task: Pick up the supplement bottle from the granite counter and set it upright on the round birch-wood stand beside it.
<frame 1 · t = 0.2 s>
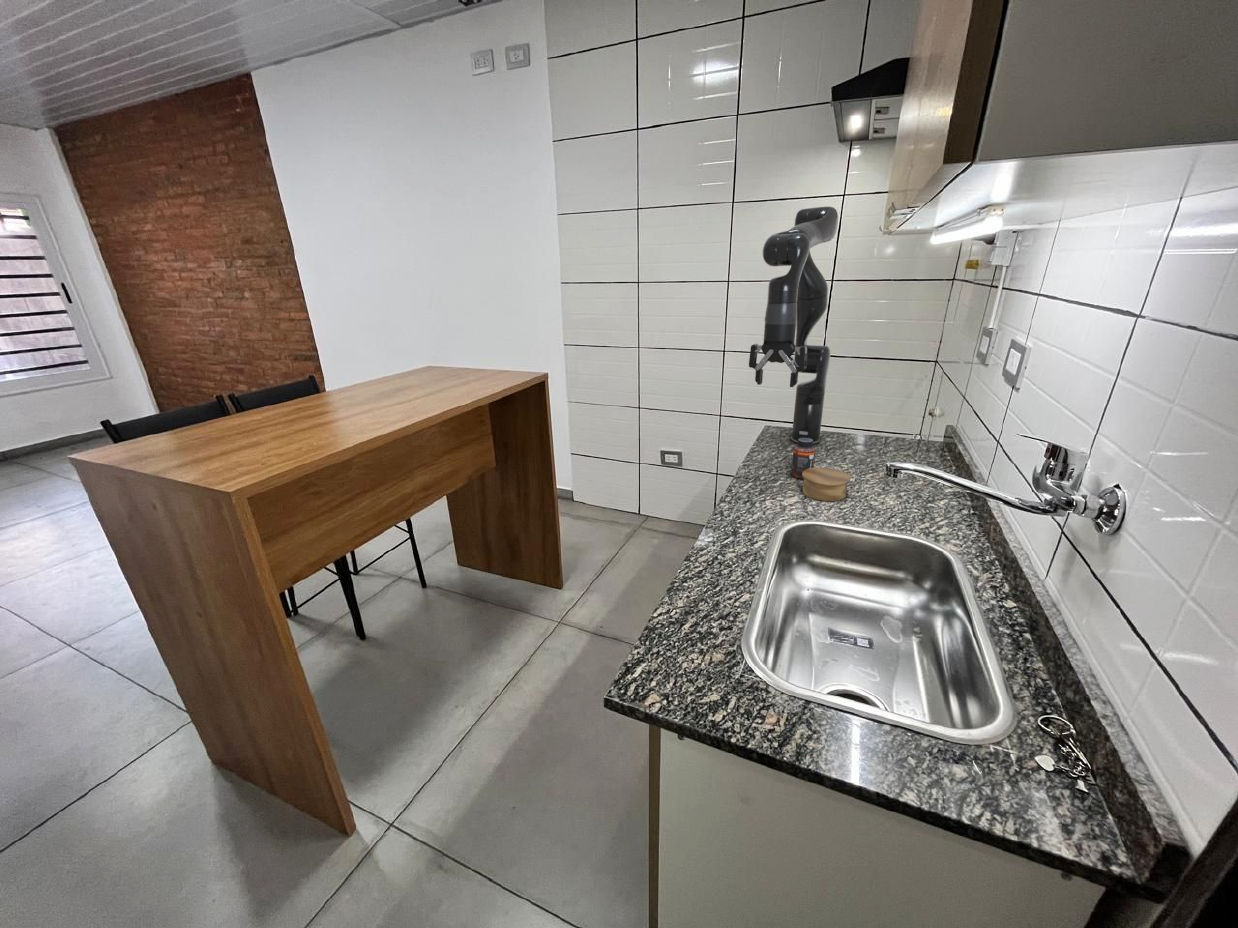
hand: (775, 385, 127), 29 cm above the table, tool pointing down, fingers open, 8 cm apart
stand: (823, 492, 132), on the table
supplement bottle: (801, 476, 143), on the table
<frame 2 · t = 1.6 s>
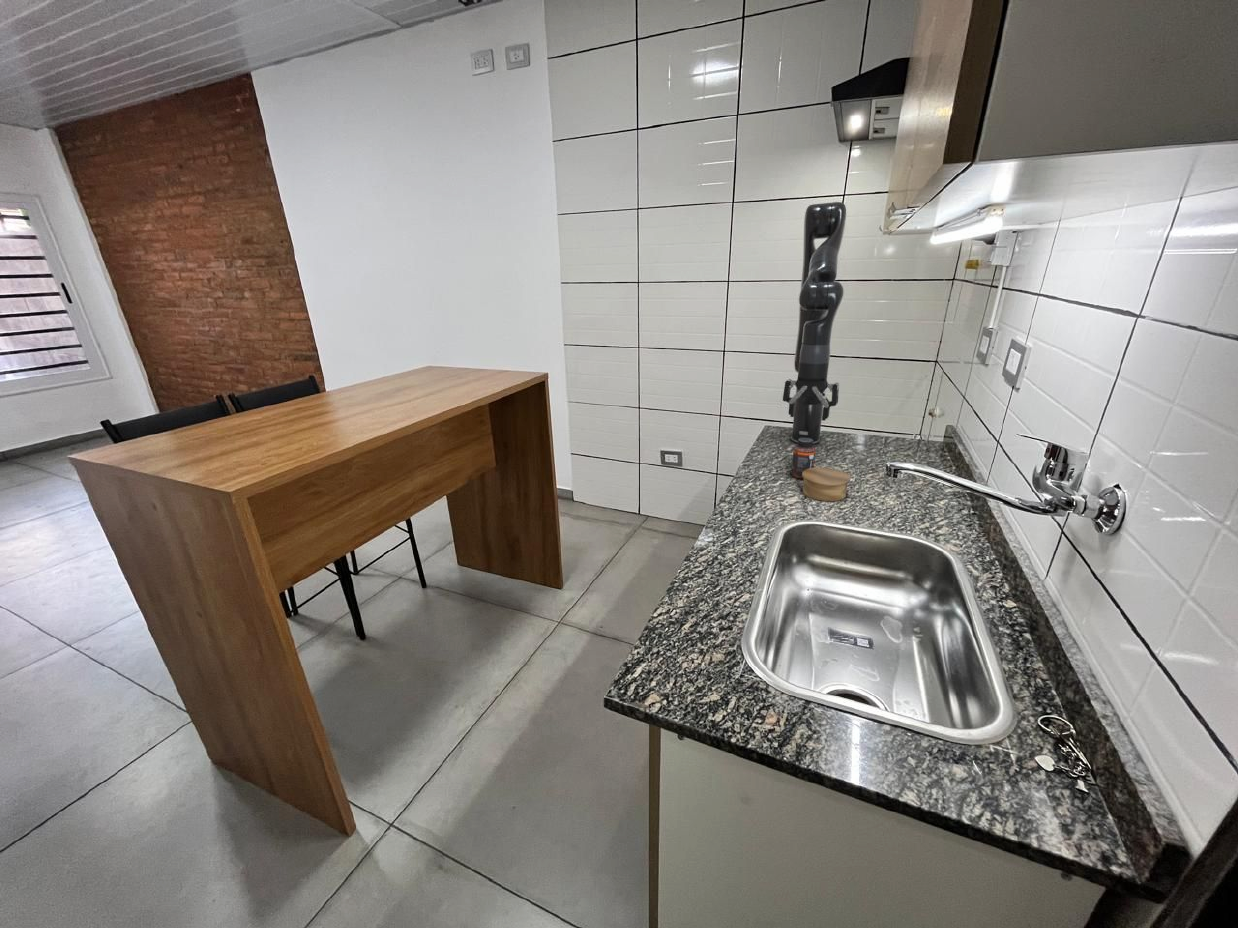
hand: (807, 418, 137), 18 cm above the table, tool pointing down, fingers open, 8 cm apart
nothing on the table moved.
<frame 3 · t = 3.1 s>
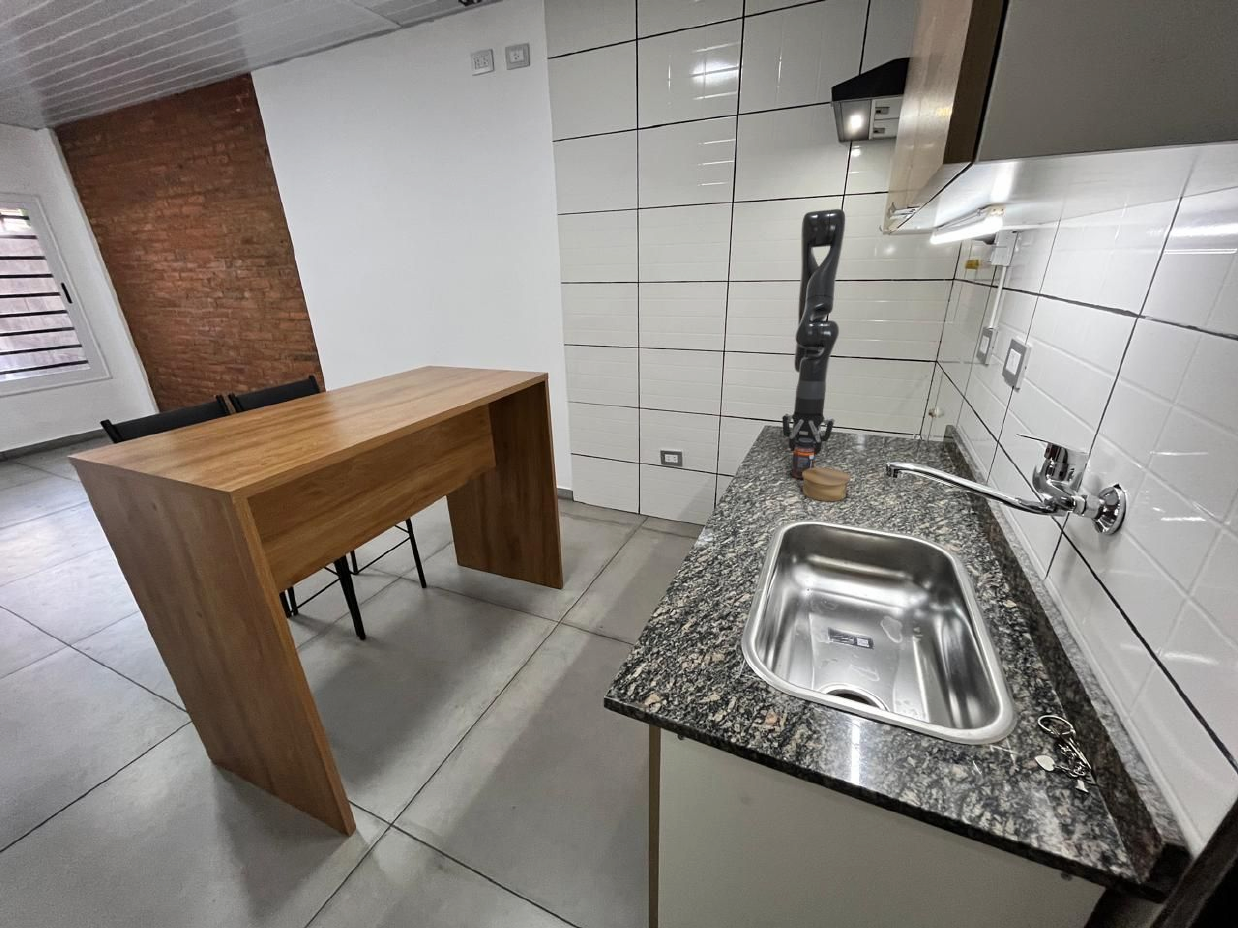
hand: (804, 451, 140), 8 cm above the table, tool pointing down, fingers closed on supplement bottle, 6 cm apart
supplement bottle: (801, 476, 143), on the table, touching gripper
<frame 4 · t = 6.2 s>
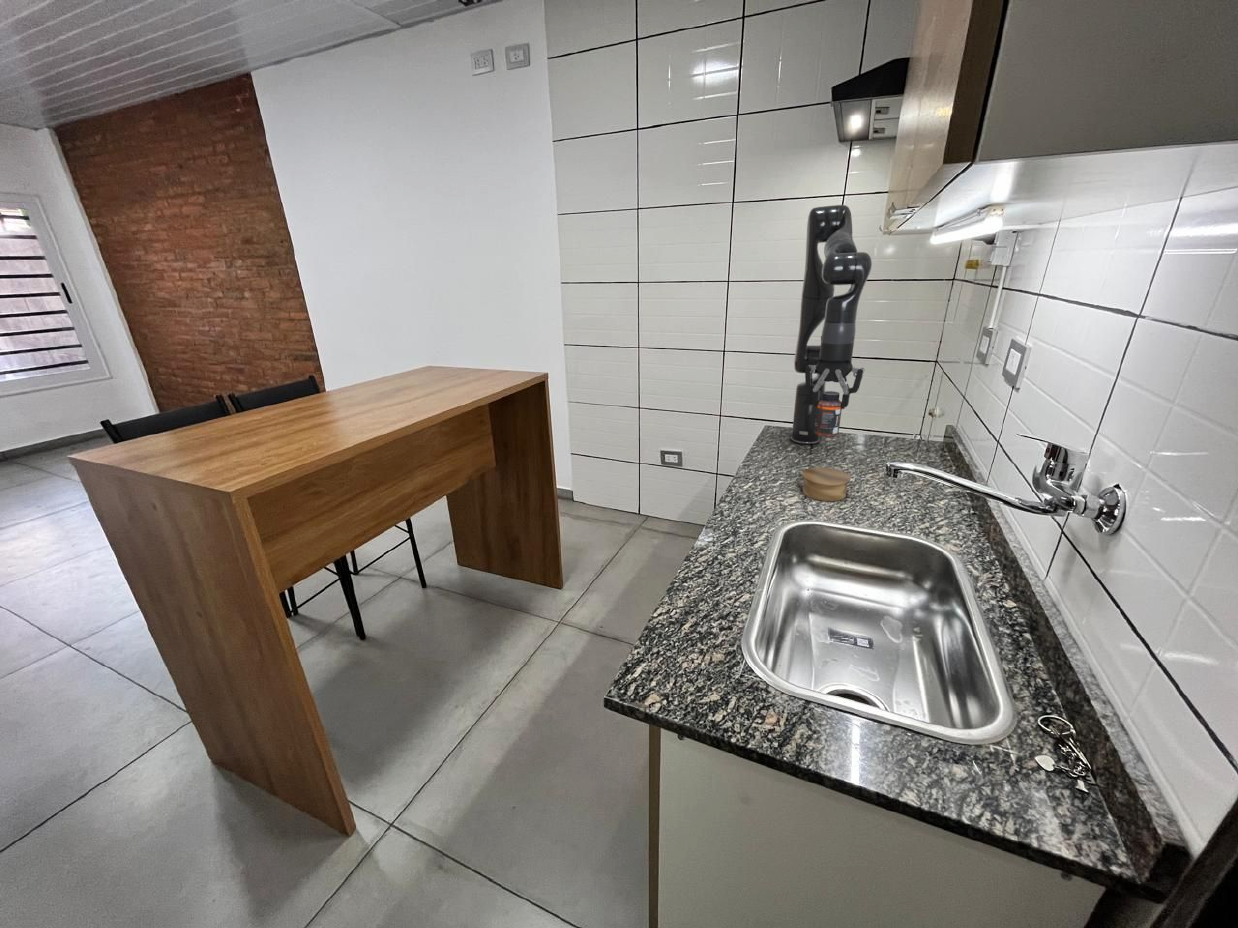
hand: (829, 406, 125), 24 cm above the table, tool pointing down, fingers closed on supplement bottle, 6 cm apart
supplement bottle: (825, 435, 128), point 16 cm above the table, touching gripper
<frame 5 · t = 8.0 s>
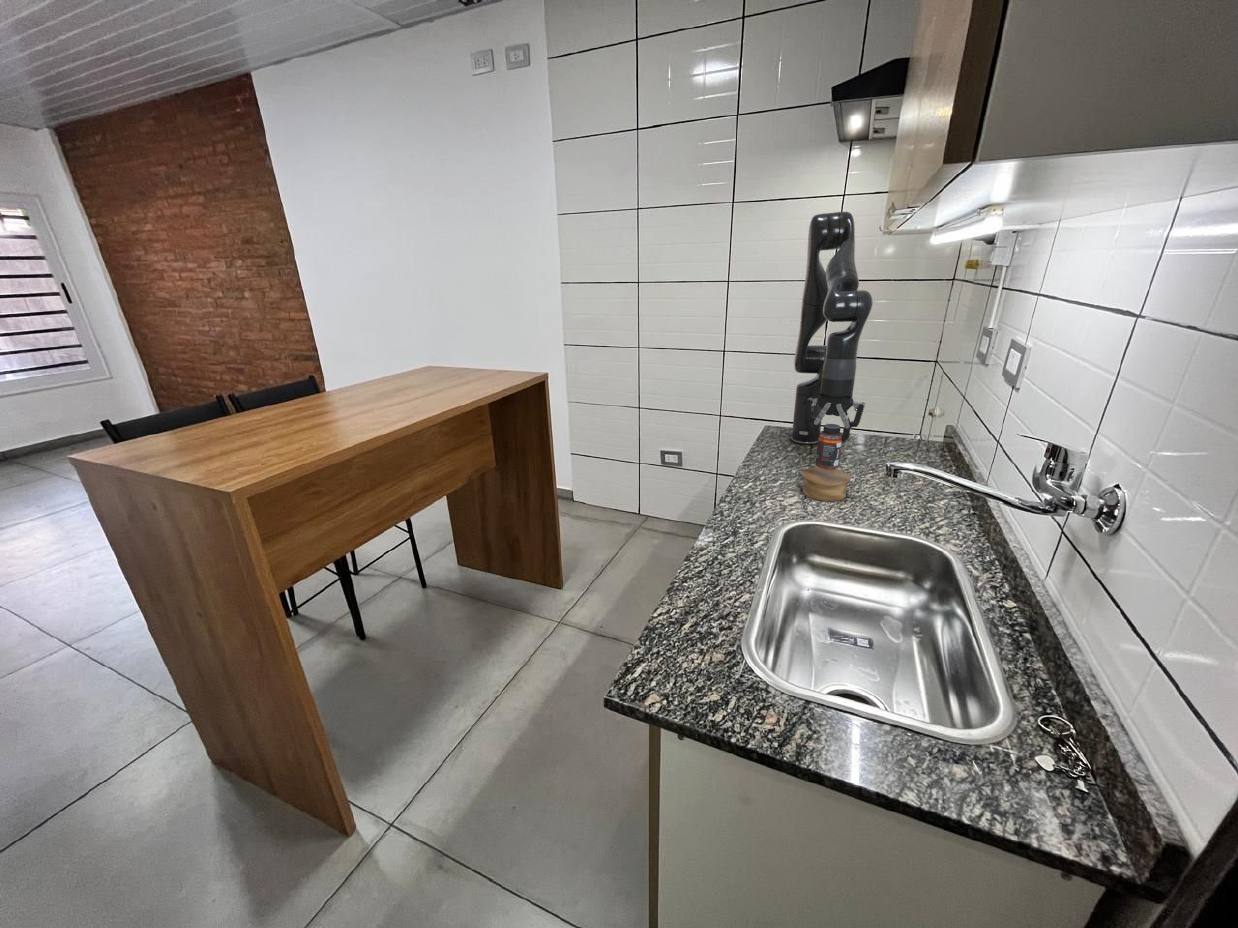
hand: (830, 439, 126), 15 cm above the table, tool pointing down, fingers closed on supplement bottle, 6 cm apart
supplement bottle: (826, 466, 129), point 7 cm above the table, touching gripper
when the fingers open (13 cm above the table, at t = 9.3 s): supplement bottle stays where it is, resting on stand.
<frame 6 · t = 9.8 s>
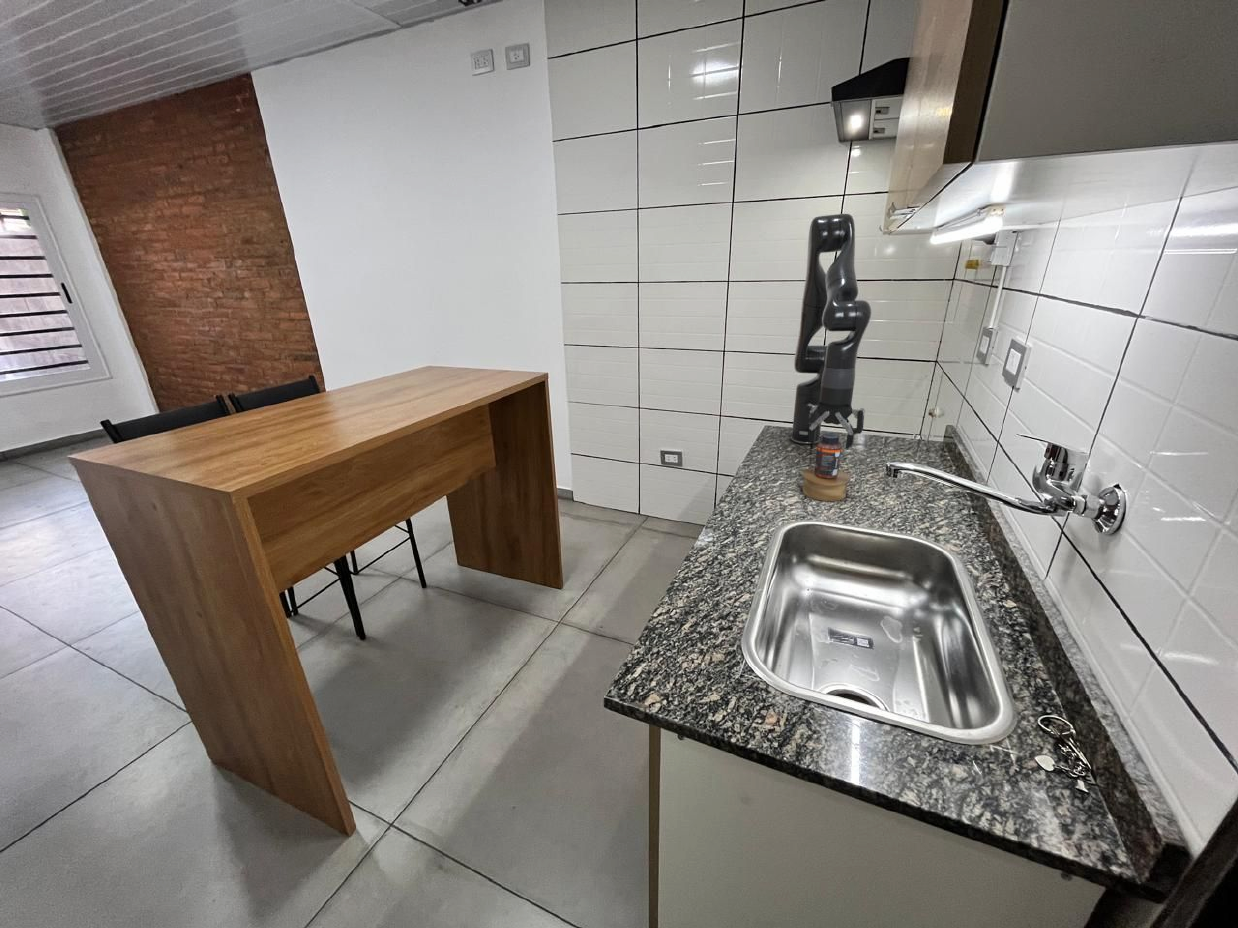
hand: (829, 445, 127), 14 cm above the table, tool pointing down, fingers open, 8 cm apart
supplement bottle: (825, 476, 130), point 5 cm above the table, touching stand
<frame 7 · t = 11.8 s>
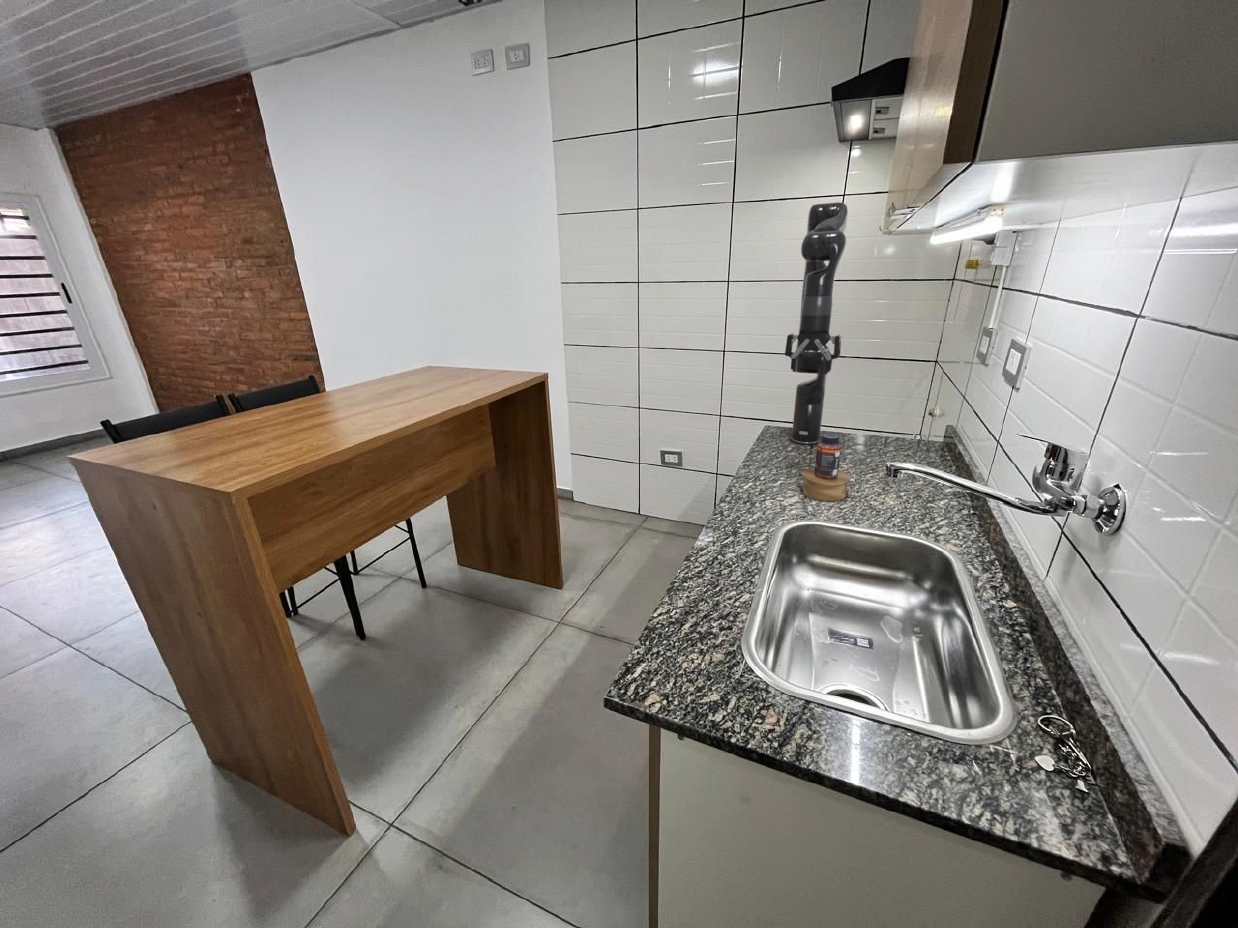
hand: (810, 372, 137), 30 cm above the table, tool pointing down, fingers open, 8 cm apart
nothing on the table moved.
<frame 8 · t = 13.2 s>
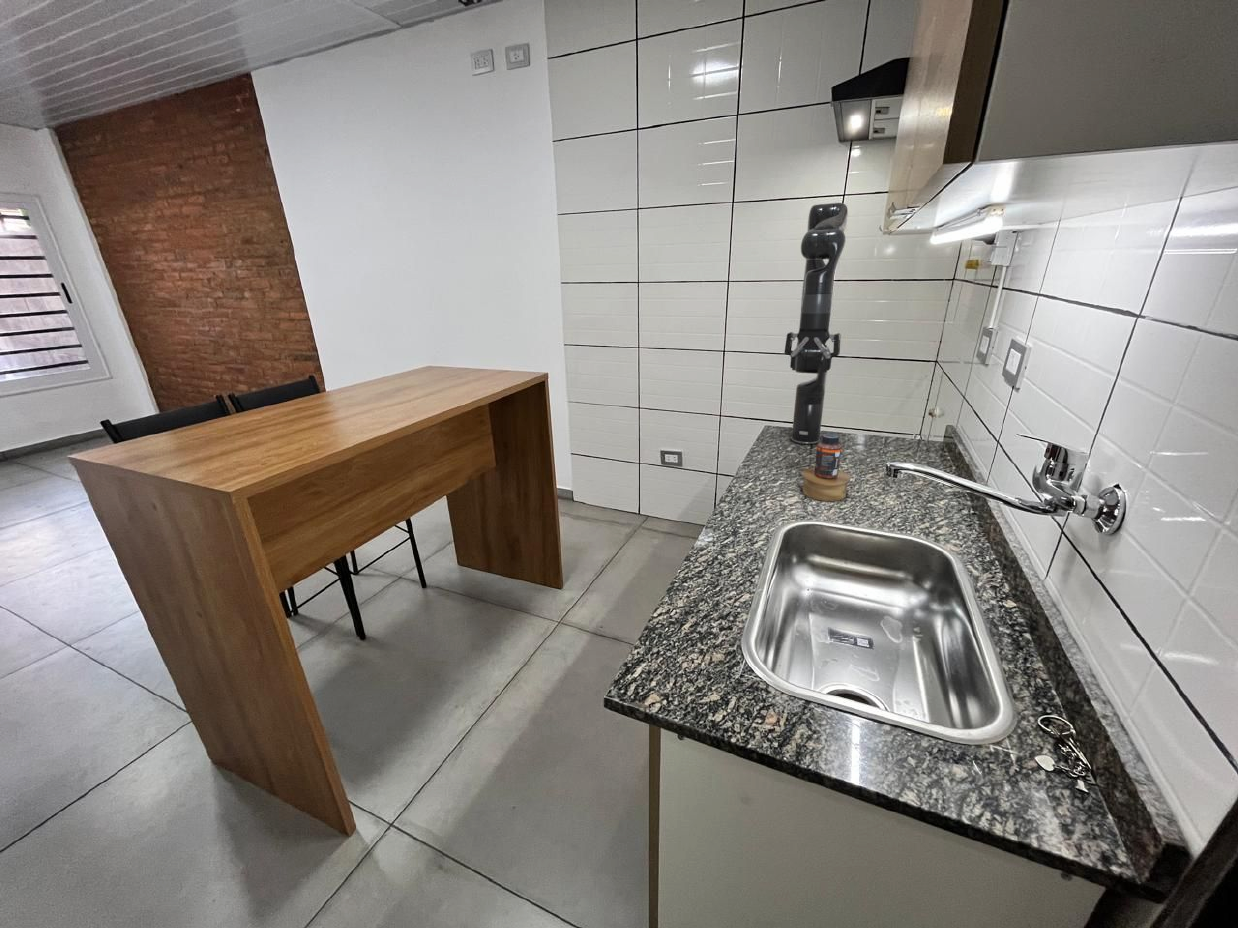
hand: (809, 370, 137), 30 cm above the table, tool pointing down, fingers open, 8 cm apart
nothing on the table moved.
at the end: supplement bottle 0.1 cm off-centre on the stand, point 4.8 cm above the stand's base; supplement bottle tilted 0°; the gripper is holding nothing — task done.
